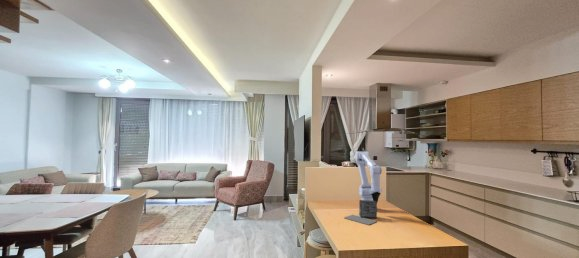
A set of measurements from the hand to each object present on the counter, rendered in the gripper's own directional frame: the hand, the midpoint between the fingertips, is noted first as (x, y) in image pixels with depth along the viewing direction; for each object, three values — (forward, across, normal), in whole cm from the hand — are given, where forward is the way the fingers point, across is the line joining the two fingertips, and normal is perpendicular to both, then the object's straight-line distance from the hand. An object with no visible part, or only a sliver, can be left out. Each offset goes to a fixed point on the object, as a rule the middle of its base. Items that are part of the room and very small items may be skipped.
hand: (375, 202), depth 177 cm
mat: (+8, -20, 0) cm, 21 cm away
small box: (+8, -10, 0) cm, 13 cm away
